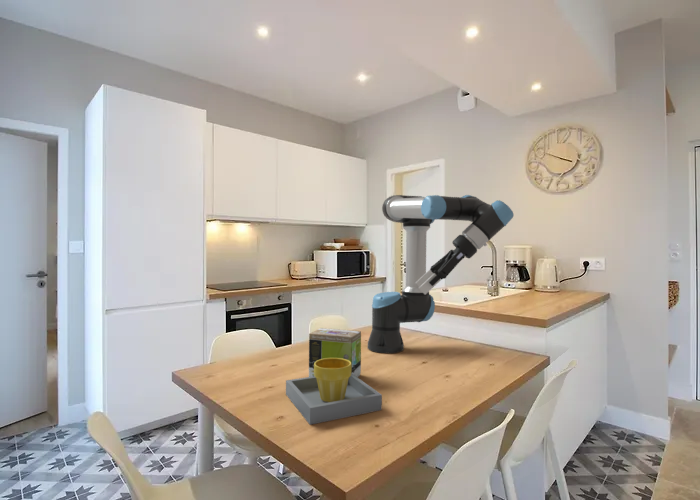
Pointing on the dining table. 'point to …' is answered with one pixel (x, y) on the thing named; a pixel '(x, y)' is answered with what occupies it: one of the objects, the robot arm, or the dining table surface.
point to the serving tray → (317, 410)
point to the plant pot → (332, 378)
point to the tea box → (335, 347)
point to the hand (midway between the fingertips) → (419, 288)
